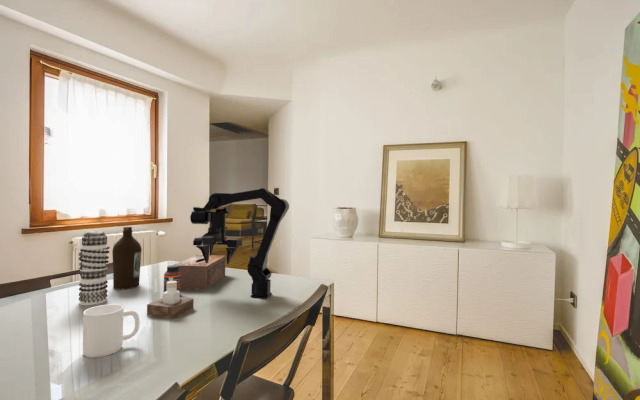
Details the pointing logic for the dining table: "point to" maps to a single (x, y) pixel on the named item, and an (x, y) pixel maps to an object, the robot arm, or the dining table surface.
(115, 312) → the cup
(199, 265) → the tissue box cover
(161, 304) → the socket block
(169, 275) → the supplement bottle
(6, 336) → the dining table surface
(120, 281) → the olive oil
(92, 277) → the decorative candle
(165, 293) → the salt shaker
